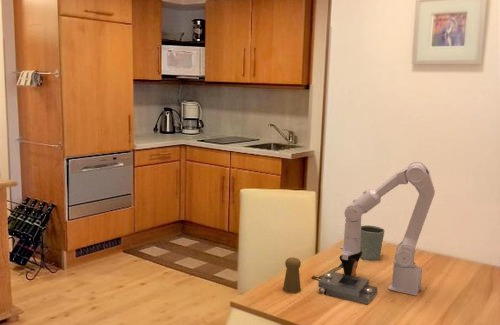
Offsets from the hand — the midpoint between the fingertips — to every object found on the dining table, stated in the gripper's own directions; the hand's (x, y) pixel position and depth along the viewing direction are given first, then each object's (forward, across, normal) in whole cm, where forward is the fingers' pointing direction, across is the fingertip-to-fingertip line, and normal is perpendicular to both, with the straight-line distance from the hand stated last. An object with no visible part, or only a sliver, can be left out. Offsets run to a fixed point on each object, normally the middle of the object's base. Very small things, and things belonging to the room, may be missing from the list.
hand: (350, 273), depth 181 cm
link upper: (+3, +11, +1) cm, 11 cm away
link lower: (+3, +11, +4) cm, 12 cm away
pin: (+3, 0, 0) cm, 3 cm away
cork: (+3, +19, -14) cm, 24 cm away
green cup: (+3, -28, -1) cm, 28 cm away
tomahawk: (+3, -3, -7) cm, 9 cm away
